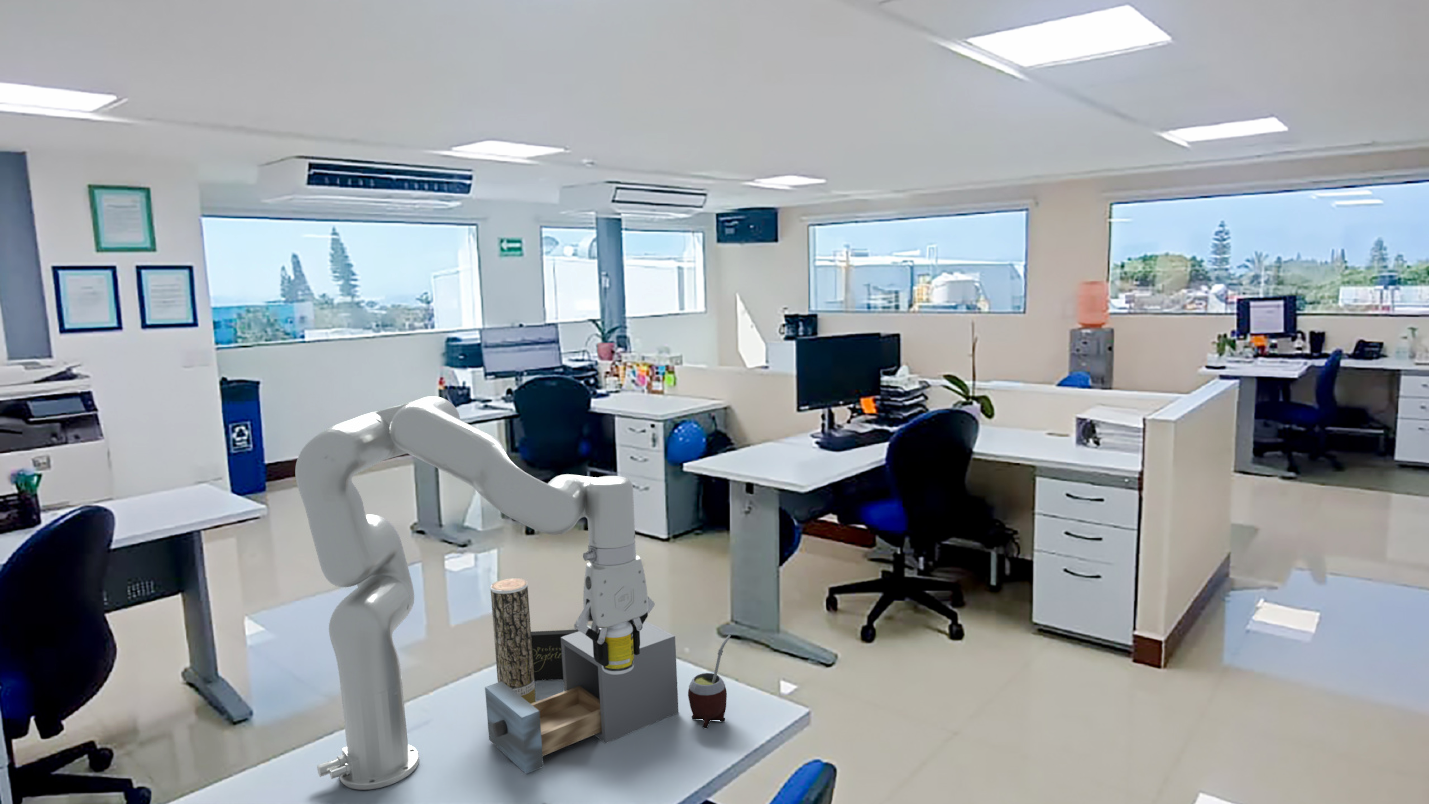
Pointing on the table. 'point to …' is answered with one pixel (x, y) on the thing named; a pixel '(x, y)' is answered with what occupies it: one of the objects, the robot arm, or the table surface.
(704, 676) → the mate gourd
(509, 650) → the brown bark cylinder
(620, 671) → the supplement bottle
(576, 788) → the table surface
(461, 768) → the table surface
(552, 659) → the nameplate
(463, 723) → the table surface
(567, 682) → the cabinet
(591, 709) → the drawer
